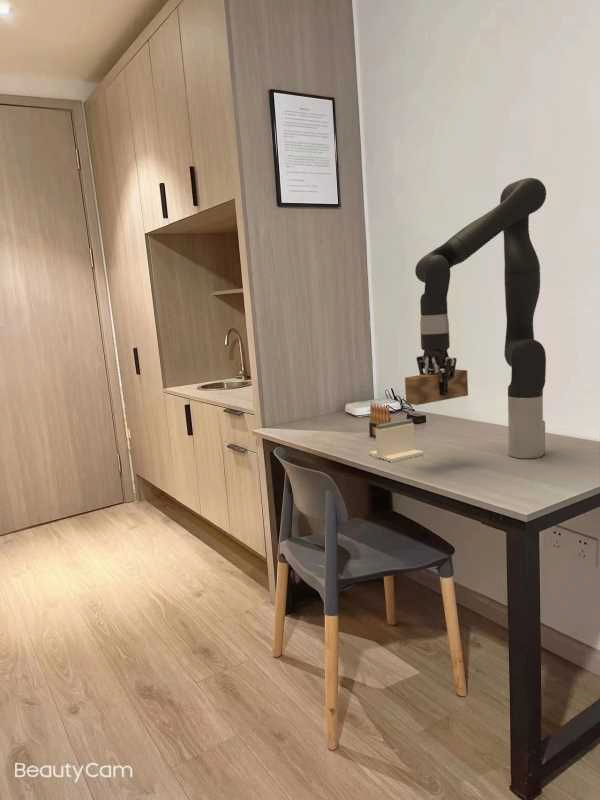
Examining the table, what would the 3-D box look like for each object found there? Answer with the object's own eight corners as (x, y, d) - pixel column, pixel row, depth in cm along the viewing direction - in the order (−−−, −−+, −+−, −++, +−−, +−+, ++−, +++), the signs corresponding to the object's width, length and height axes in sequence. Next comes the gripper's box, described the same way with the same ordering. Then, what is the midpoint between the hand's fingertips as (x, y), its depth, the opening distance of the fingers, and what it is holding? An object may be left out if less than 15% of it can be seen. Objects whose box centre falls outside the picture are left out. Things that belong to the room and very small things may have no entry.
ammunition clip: (369, 436, 211) (367, 402, 209) (373, 436, 212) (372, 401, 210) (388, 442, 202) (387, 406, 200) (393, 441, 203) (391, 405, 201)
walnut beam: (456, 393, 174) (455, 369, 173) (468, 395, 170) (467, 370, 169) (406, 403, 166) (404, 377, 165) (416, 405, 162) (415, 378, 161)
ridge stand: (400, 448, 193) (399, 416, 191) (423, 454, 183) (422, 422, 182) (369, 455, 187) (367, 422, 186) (390, 462, 178) (389, 428, 176)
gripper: (464, 330, 161) (466, 395, 163) (428, 330, 173) (430, 390, 176) (442, 333, 157) (444, 399, 160) (406, 332, 170) (409, 393, 172)
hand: (437, 394), depth 168 cm, fingers closed on walnut beam, 4 cm apart
